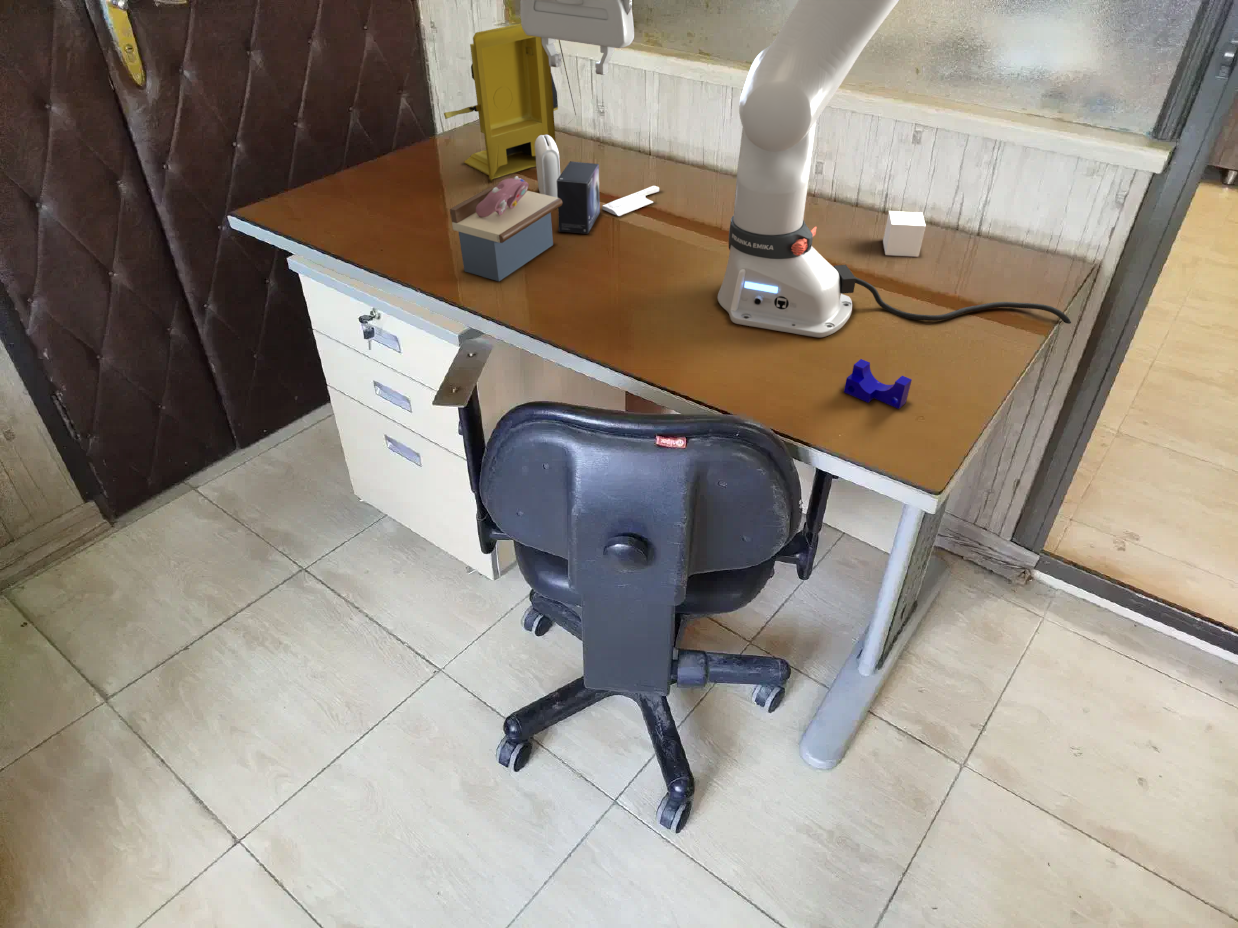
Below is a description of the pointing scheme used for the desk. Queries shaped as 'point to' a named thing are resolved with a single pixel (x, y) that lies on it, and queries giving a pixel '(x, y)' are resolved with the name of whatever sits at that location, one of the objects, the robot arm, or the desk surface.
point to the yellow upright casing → (510, 98)
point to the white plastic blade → (630, 202)
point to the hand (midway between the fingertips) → (578, 70)
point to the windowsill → (503, 233)
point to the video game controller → (502, 197)
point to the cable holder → (876, 386)
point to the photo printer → (547, 165)
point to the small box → (578, 197)
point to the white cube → (904, 233)
